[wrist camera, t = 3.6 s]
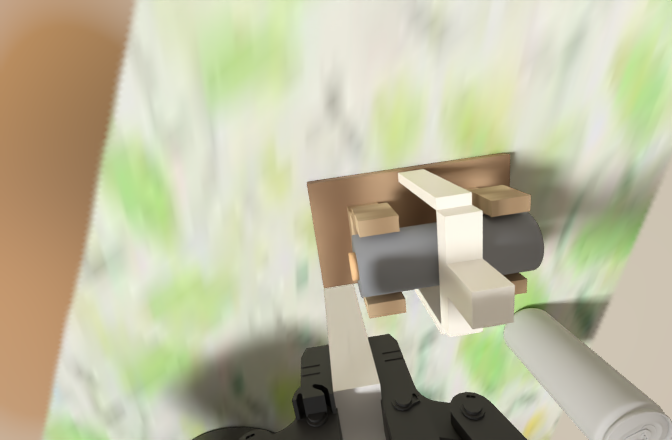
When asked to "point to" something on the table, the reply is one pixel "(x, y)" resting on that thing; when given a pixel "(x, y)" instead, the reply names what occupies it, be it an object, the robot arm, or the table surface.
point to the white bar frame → (460, 261)
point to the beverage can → (584, 381)
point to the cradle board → (400, 213)
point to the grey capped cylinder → (422, 254)
